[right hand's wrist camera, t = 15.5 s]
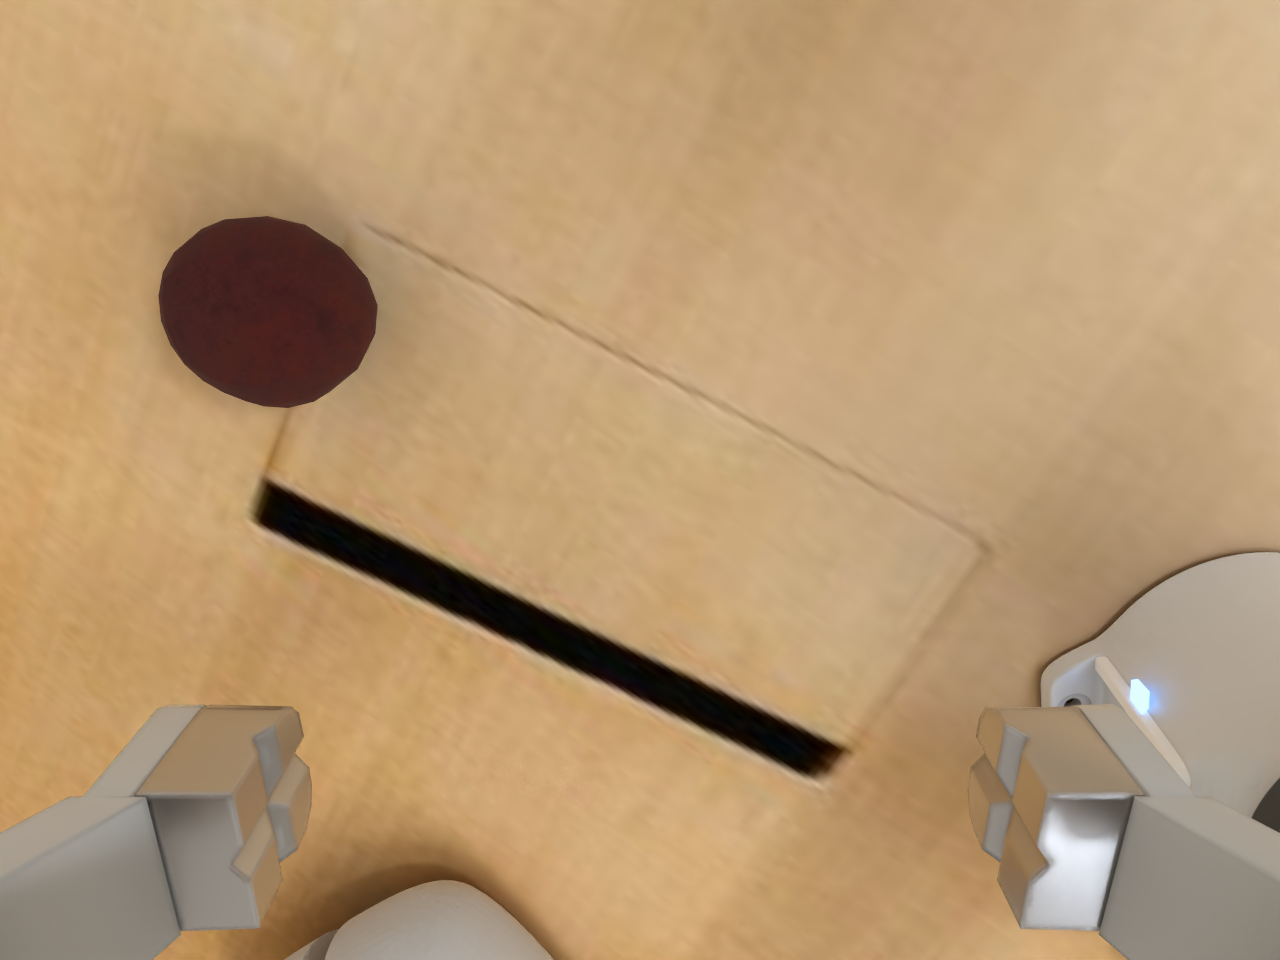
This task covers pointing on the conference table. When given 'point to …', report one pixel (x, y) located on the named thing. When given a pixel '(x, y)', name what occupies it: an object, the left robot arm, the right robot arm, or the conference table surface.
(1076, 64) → the conference table surface
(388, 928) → the white rounded device
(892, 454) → the conference table surface
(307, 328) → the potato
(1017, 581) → the conference table surface
